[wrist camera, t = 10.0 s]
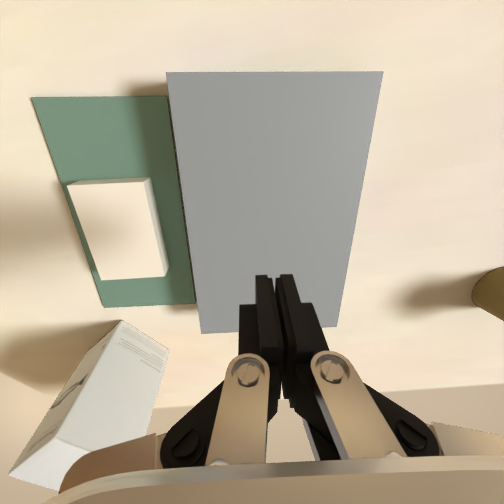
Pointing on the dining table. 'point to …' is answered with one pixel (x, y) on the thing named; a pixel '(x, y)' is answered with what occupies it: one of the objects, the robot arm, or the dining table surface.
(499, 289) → the cork
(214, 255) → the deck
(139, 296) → the mat
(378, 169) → the dining table surface
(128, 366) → the supplement box
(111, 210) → the card
